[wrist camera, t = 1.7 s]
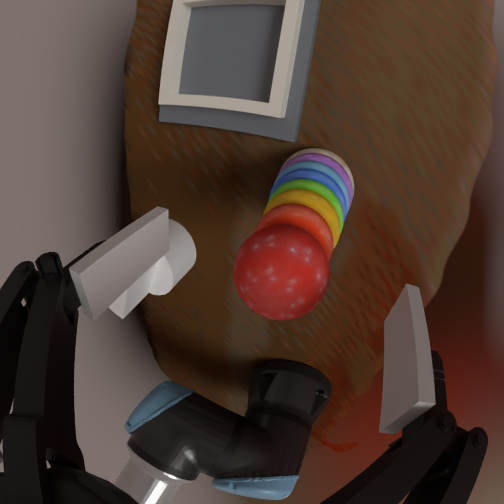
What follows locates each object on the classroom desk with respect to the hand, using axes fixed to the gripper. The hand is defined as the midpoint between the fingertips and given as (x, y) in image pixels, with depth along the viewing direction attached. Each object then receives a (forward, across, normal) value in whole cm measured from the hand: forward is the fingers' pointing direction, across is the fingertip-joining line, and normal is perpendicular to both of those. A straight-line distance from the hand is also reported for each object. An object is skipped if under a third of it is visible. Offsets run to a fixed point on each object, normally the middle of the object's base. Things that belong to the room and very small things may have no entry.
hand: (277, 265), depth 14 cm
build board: (+17, +11, -12) cm, 24 cm away
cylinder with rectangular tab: (+17, +18, +14) cm, 29 cm away
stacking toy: (+17, 0, 0) cm, 17 cm away
